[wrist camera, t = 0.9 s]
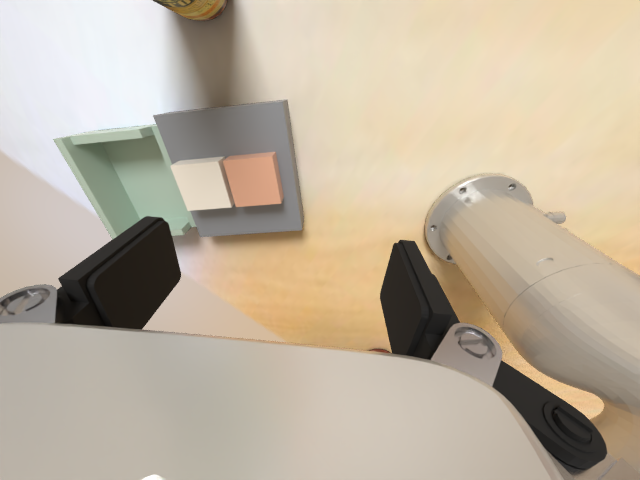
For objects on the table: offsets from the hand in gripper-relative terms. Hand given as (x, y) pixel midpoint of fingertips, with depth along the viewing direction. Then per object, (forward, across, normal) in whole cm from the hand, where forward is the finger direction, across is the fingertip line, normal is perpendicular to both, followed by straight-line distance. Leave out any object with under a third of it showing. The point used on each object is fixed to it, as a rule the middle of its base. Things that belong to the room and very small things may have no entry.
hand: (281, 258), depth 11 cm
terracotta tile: (+19, +6, +3) cm, 20 cm away
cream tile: (+19, +11, +4) cm, 22 cm away
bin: (+22, +20, +6) cm, 30 cm away
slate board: (+22, +8, +4) cm, 24 cm away
